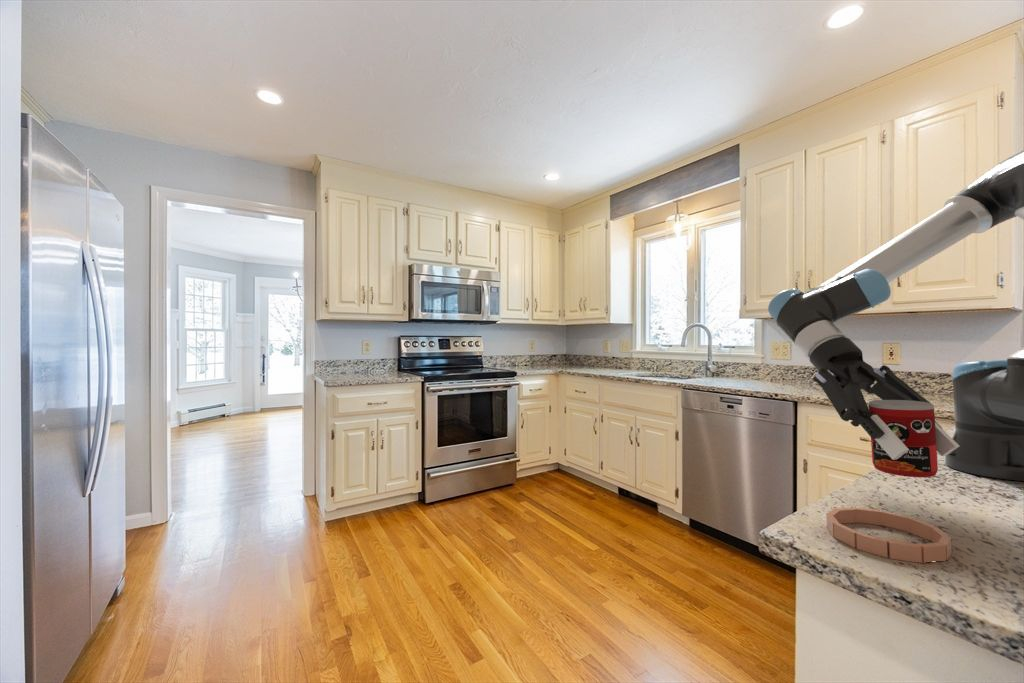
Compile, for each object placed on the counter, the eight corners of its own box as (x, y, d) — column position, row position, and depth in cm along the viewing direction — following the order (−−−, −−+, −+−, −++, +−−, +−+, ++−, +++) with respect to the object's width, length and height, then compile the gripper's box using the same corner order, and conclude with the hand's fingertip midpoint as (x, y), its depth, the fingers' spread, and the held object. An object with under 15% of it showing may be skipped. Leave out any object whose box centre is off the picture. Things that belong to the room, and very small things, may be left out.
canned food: (866, 470, 67) (862, 403, 67) (879, 461, 72) (875, 398, 72) (933, 481, 61) (928, 407, 61) (942, 470, 66) (938, 401, 66)
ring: (844, 514, 67) (843, 501, 67) (957, 542, 56) (957, 527, 56) (815, 536, 59) (814, 522, 59) (940, 573, 49) (939, 556, 49)
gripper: (864, 360, 83) (965, 461, 67) (769, 365, 81) (849, 470, 64) (889, 333, 78) (1005, 434, 62) (788, 337, 76) (881, 443, 59)
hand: (925, 452), depth 63 cm, fingers closed on canned food, 8 cm apart
